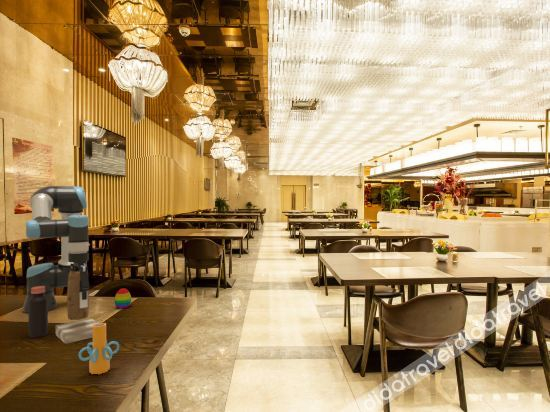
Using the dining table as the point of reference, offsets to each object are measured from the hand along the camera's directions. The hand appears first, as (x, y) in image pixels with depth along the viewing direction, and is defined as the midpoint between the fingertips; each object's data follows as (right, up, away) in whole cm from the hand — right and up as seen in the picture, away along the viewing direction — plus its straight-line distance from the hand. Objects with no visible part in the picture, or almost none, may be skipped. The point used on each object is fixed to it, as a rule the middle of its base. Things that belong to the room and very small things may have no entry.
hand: (78, 304), depth 153 cm
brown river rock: (0, -5, 0) cm, 5 cm away
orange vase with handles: (+24, -13, -33) cm, 43 cm away
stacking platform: (0, -13, 0) cm, 13 cm away
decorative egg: (+1, -13, +42) cm, 44 cm away
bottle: (-17, -13, 0) cm, 21 cm away
